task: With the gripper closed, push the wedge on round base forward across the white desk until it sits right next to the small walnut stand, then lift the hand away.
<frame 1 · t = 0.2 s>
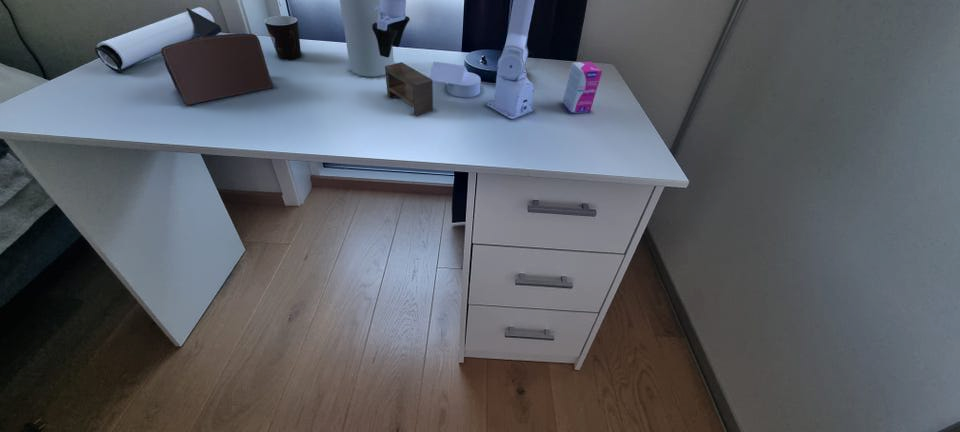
hand: (389, 50, 99), 10 cm above the table, tool pointing down, fingers open, 7 cm apart
letter holder: (226, 90, 100), on the table
coffee mug: (289, 58, 117), on the table
diploma: (177, 54, 114), on the table
supplement box: (575, 109, 105), on the table
wedge on round base: (456, 89, 109), on the table
cylinder vase: (372, 69, 115), on the table
walnut stand: (409, 103, 101), on the table
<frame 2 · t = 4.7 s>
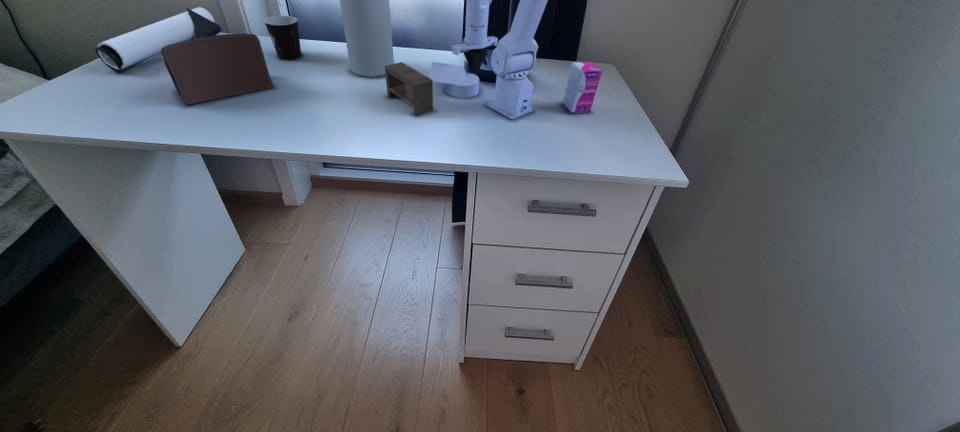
hand: (473, 75, 111), 2 cm above the table, tool pointing down, fingers closed
wedge on round base: (455, 90, 109), on the table, touching gripper
everything else where it was.
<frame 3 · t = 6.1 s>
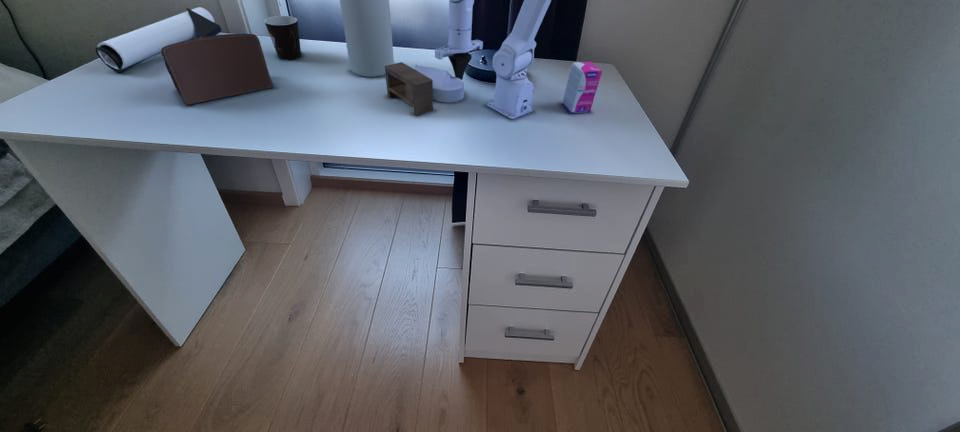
hand: (458, 80, 108), 2 cm above the table, tool pointing down, fingers closed, pressing on wedge on round base
wedge on round base: (439, 94, 106), on the table, touching gripper, walnut stand
everything else where it was.
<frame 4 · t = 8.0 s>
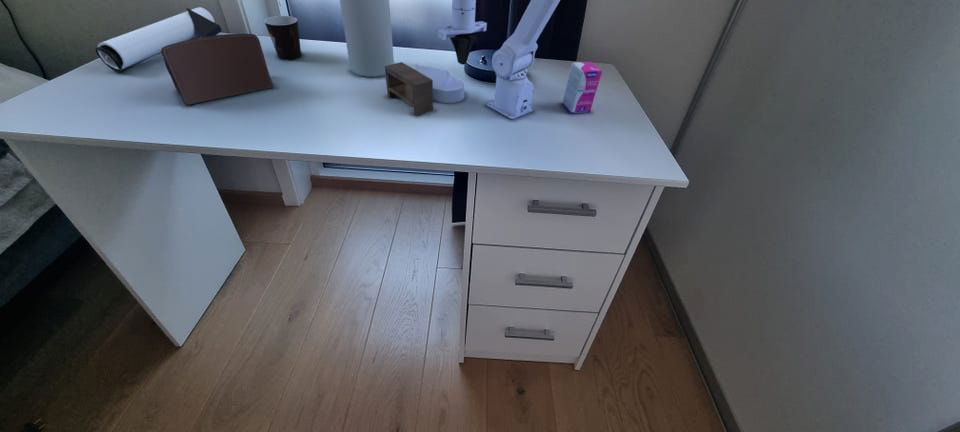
hand: (462, 63, 105), 7 cm above the table, tool pointing down, fingers closed
wedge on round base: (440, 94, 106), on the table
everything else where it was.
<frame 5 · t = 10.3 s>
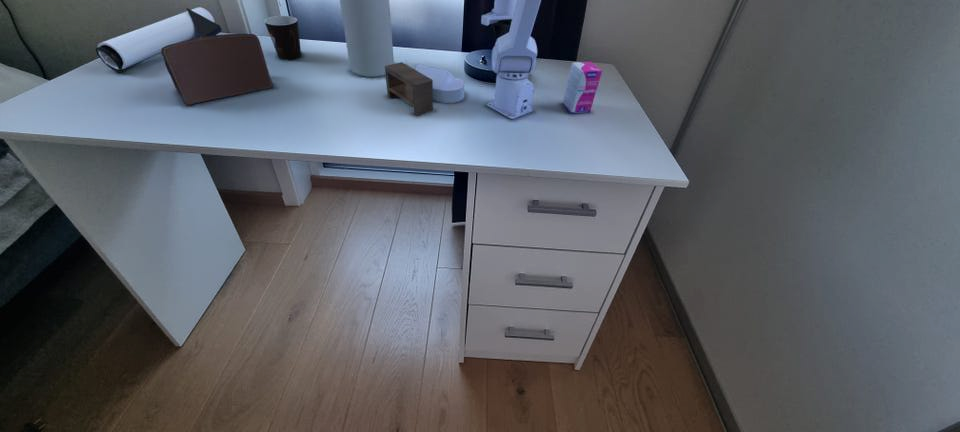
hand: (501, 48, 108), 9 cm above the table, tool pointing down, fingers closed
nothing on the table moved.
at the end: wedge on round base 2.1 cm from the target spot, on the table; wedge on round base 9.8 cm from the walnut stand (horizontally); wedge on round base tilted 0° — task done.
